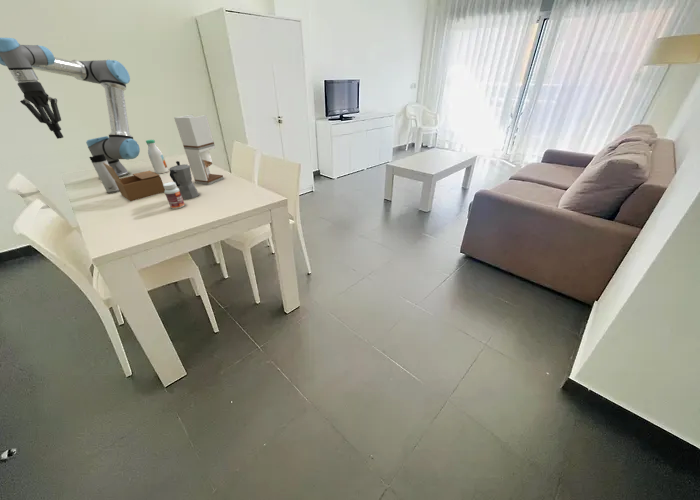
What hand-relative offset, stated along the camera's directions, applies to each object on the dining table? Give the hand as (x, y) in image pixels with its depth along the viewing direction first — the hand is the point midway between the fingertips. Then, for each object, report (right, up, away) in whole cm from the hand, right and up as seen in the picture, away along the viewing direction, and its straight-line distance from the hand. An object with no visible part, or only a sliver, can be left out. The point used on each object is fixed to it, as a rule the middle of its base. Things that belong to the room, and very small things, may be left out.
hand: (60, 137), depth 137 cm
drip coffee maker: (+57, -13, +31) cm, 67 cm away
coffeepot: (+58, -27, +9) cm, 64 cm away
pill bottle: (+59, -34, -2) cm, 68 cm away
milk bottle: (+17, -3, +49) cm, 52 cm away
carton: (+30, -24, +15) cm, 41 cm away
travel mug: (+11, -23, +18) cm, 31 cm away
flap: (+24, -17, +2) cm, 29 cm away
